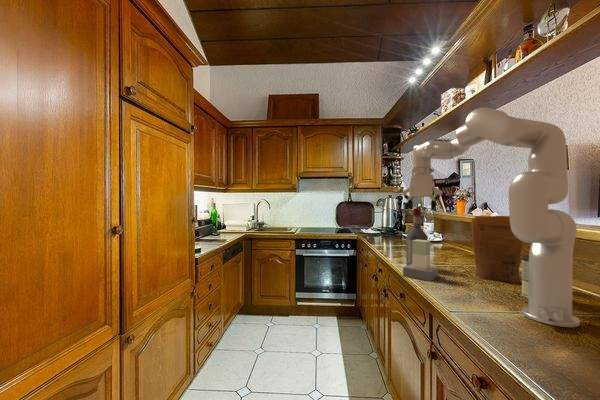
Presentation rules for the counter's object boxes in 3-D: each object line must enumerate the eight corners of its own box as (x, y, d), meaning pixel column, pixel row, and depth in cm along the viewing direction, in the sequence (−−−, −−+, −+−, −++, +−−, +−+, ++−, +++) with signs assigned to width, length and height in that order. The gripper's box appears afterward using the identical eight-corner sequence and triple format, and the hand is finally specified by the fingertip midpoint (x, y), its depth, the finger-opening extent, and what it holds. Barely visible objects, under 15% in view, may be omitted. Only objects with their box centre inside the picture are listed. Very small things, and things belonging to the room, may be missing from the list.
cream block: (426, 269, 123) (426, 255, 123) (412, 267, 127) (412, 253, 127) (430, 266, 128) (430, 253, 128) (416, 264, 132) (416, 252, 132)
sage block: (426, 255, 123) (426, 242, 123) (412, 253, 127) (412, 240, 127) (430, 253, 128) (430, 240, 128) (416, 252, 132) (416, 239, 132)
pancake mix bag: (524, 285, 114) (525, 216, 114) (470, 277, 126) (470, 215, 126) (525, 282, 119) (525, 216, 119) (472, 274, 131) (473, 214, 131)
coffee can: (545, 293, 104) (545, 255, 104) (567, 303, 94) (567, 261, 94) (514, 292, 106) (515, 254, 106) (533, 301, 95) (533, 260, 95)
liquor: (428, 270, 139) (428, 209, 139) (409, 269, 141) (409, 209, 141) (423, 265, 148) (424, 209, 148) (405, 265, 150) (405, 208, 150)
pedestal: (431, 281, 119) (431, 271, 119) (403, 276, 127) (403, 267, 127) (438, 275, 128) (438, 266, 128) (411, 271, 136) (412, 262, 136)
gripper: (444, 171, 125) (444, 210, 125) (405, 174, 136) (405, 209, 136) (440, 170, 119) (440, 210, 119) (399, 172, 130) (399, 209, 130)
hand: (421, 209), depth 128 cm, fingers open, 9 cm apart
